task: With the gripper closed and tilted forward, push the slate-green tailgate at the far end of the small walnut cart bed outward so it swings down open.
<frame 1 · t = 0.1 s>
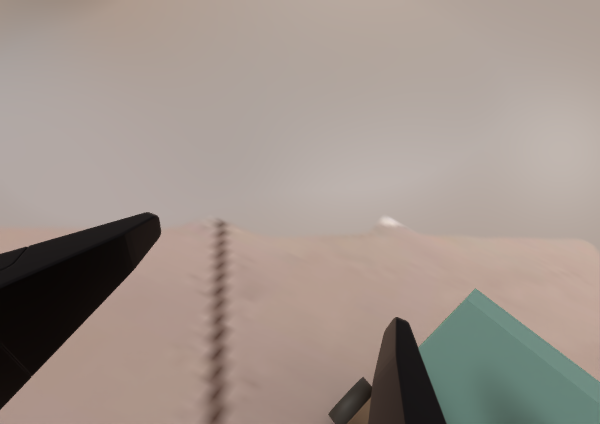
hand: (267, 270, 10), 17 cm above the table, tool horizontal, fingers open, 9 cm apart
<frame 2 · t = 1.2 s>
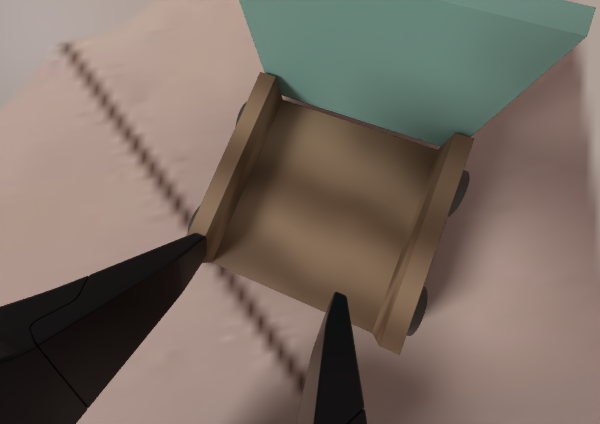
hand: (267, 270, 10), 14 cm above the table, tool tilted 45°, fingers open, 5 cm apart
cart bed: (324, 212, 24), on the table
tailgate: (373, 58, 17), point 8 cm above the table, hinge at 0.0°
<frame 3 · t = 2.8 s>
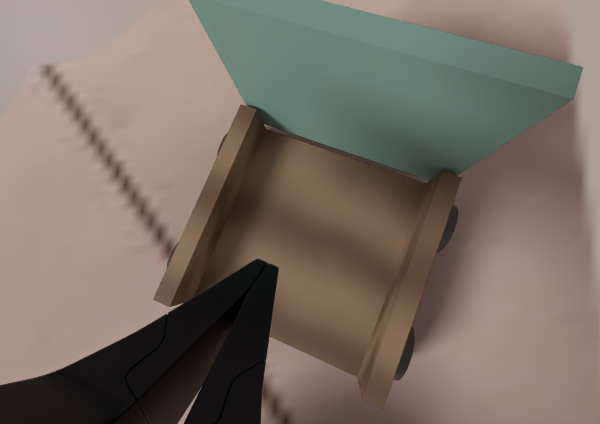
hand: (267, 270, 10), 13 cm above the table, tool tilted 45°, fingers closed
cart bed: (310, 244, 23), on the table
tailgate: (355, 97, 16), point 8 cm above the table, hinge at 0.0°
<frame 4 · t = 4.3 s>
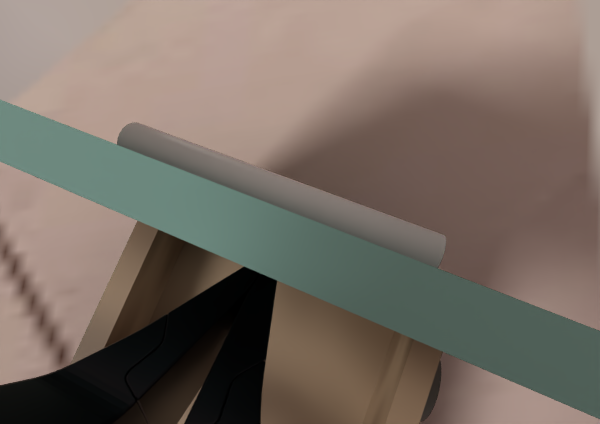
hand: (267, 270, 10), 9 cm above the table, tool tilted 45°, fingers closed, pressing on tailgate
cart bed: (250, 378, 18), on the table
tailgate: (283, 236, 11), point 8 cm above the table, hinge at 3.5°, touching gripper
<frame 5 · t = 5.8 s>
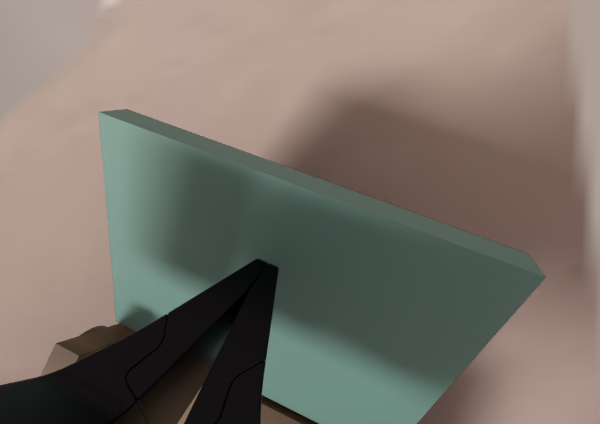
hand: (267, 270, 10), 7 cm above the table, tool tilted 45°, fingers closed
tailgate: (271, 289, 12), point 5 cm above the table, hinge at 55.3°
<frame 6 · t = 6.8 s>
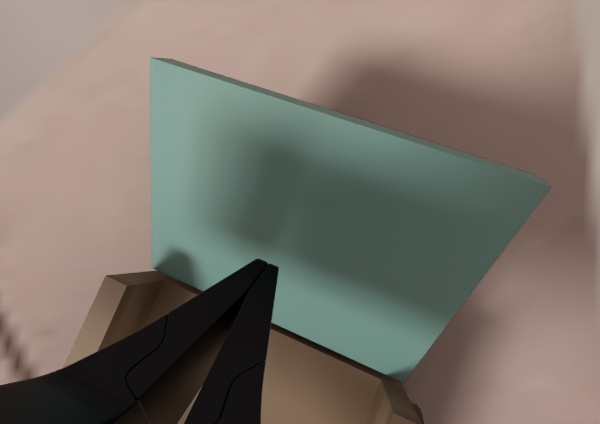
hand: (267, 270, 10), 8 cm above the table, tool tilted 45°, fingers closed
tailgate: (299, 228, 14), point 5 cm above the table, hinge at 55.3°
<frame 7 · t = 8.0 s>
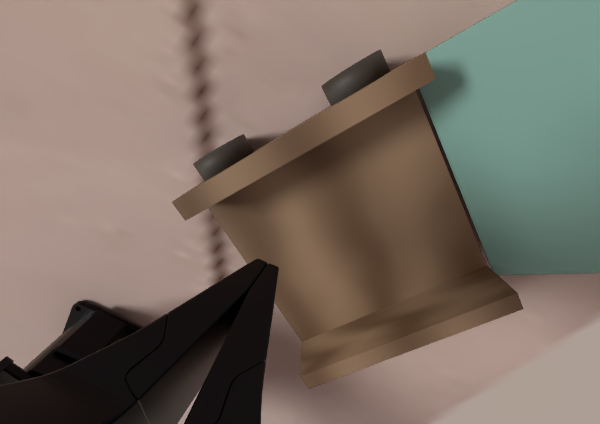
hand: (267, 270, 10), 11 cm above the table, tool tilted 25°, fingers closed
cart bed: (344, 220, 21), on the table
tailgate: (580, 142, 14), point 5 cm above the table, hinge at 55.3°
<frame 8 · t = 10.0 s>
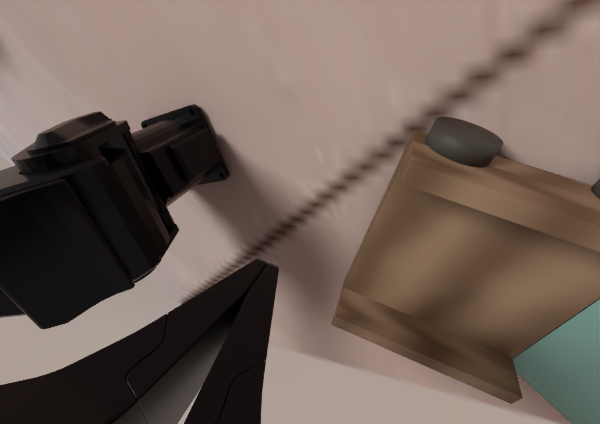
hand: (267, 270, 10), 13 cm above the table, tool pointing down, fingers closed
cart bed: (462, 249, 22), on the table
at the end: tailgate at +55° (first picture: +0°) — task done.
